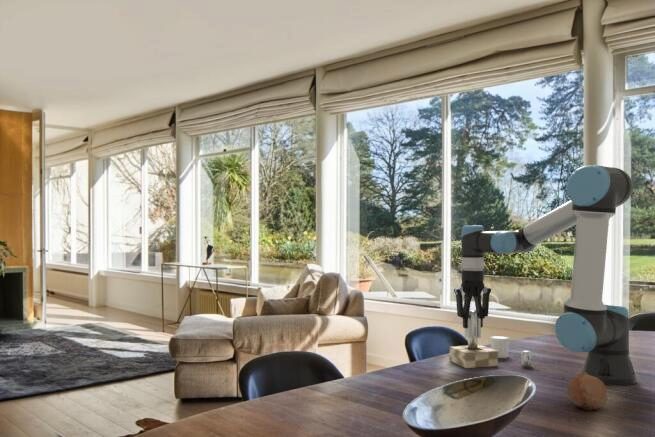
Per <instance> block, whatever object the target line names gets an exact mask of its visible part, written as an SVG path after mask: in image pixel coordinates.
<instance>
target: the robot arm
mask: <svg viewBox="0 0 655 437" xmlns="http://www.w3.org/2000/svg"><path fill="white" fill-rule="evenodd" d="M565 190H566V195H567V197H568V198H569V201H567V202H565V203H563V204H561V205H560V206H558V207H556V208H554V209H553V210H551V211H549V212H547V213H544V215H542V216H540V217H538V218H536V219H534V220H533V221H530V222H529V223H528V224H526V225H524V226H523V227H521V228H519V229H517V230H488V231H487V230H484V228H485V227H484V226H483V225H482V224H481V225H480V224H479V225H477V224H476V225H467V224H466V225H462V227H461V233H460V234H461V236H460V240H461V241H460V242H461V244H460V245H461V269H463V270H461V284H460V286H459V287H457V288H454V289H453V293H454V295H455V299H456V300H455V302H456V313H457V314H456V315H457V317H460V318H462V328H463V329H464V338H467V339H468V338H471V319H468V318H469V311H470V310H471V303H472V300H473V299H474V306H475V310H476V311H477V327H478V339H480V338H482V333H481V332H482V329H481V328H483V327H484V325H483V324H484V321H483V320H484V319H485V317H486V318H487V317H488V316H489V308H490V306H489V305H490V294H491V293H492V288H490V287H487V286H485V284H484V281H485V278H484V277H485V271H484V268H485V267H484V265H485V264H484V263H485V262H484V260H485V259H484V258H485V256H484V255H485V254H496V255H497V254H499V255H508V254H514V253H515V254H517V253H518V254H519V253H521V254H525V253H530V252H532V251H533V250H535V248H536V247H537V245H539V244H541V243H542V242H545V241H546V240H549V239H551V238H552V237H554V236H556V235H558V234H560V233H563V232H565V231H566V230H569V229H570V228H571V227H574V226H575V225H576V227H575V239H574V249H573V250H574V251H573V260H572V261H573V262H572V275H571V276H572V277H571V288H570V297H569V299H567V300H566V301H564V302H563V303H564V304H563V313H561V314H560V315H559V317H558V318H556V320H555V324H554V333H555V335H556V338H557V340H558V341H559V342H560V344H561V345H562V346H563V347H564V348H565V349H566V350H568V351H571V352H574V353H587V354H586V358H585V360H584V362H583V363H584V364H583V368H582V369H581V373H582V372H586V373H588V374H589V375H591V376H594V377H597V378H598V379H600V380H601V381H602V382H603V383H604V384H605V386H617V387H619V386H620V387H621V386H623V387H624V386H631V385H635V384H637V375H636V372H635V369H634V366H633V363H632V361H631V360H632V359H631V357H630V317H629V309H628V308H627V307H625V306H621V305H620V306H619V305H612V304H611V305H610V304H605V303H604V302H603V293H604V292H603V291H604V282H605V270H606V258H607V247H608V236H609V225H610V223H609V222H610V219H611V218H613V216H615V215H616V208H618V207H621V205H624V204H625V203H626V202H628V200H629V199H630V198H631V196H632V194H633V191H634V184H633V181H632V177H630V175H629V173H627V172H626V171H625V170H623V169H621V168H618V167H610V166H604V165H598V164H597V165H596V164H593V165H584V166H581V167H579V168H577V169H575V170H574V171H572V174H571V175H570V176H569V177H568V179H567V182H566V188H565ZM463 293H464V297H463ZM463 298H464V299H463ZM463 300H464V301H463Z"/></svg>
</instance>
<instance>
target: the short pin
mask: <svg viewBox="0 0 655 437" xmlns="http://www.w3.org/2000/svg"><path fill="white" fill-rule="evenodd" d="M520 353H521V354H520V356H521V358H520V359H521V361H520V363H521V367H522V368H532V351H530V350H521V351H520Z"/></svg>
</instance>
